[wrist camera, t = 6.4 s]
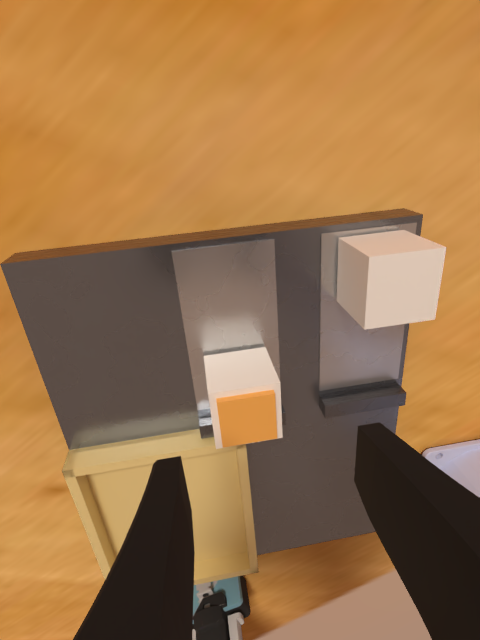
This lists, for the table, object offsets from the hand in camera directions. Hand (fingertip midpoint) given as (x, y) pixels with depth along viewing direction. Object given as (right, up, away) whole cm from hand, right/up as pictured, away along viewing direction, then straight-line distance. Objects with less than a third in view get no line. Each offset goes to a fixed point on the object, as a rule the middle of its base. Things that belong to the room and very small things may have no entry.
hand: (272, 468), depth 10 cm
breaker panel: (-1, -1, +12) cm, 12 cm away
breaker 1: (-1, +1, +9) cm, 9 cm away
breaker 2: (+5, +6, +7) cm, 11 cm away
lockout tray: (-5, -7, +12) cm, 15 cm away
